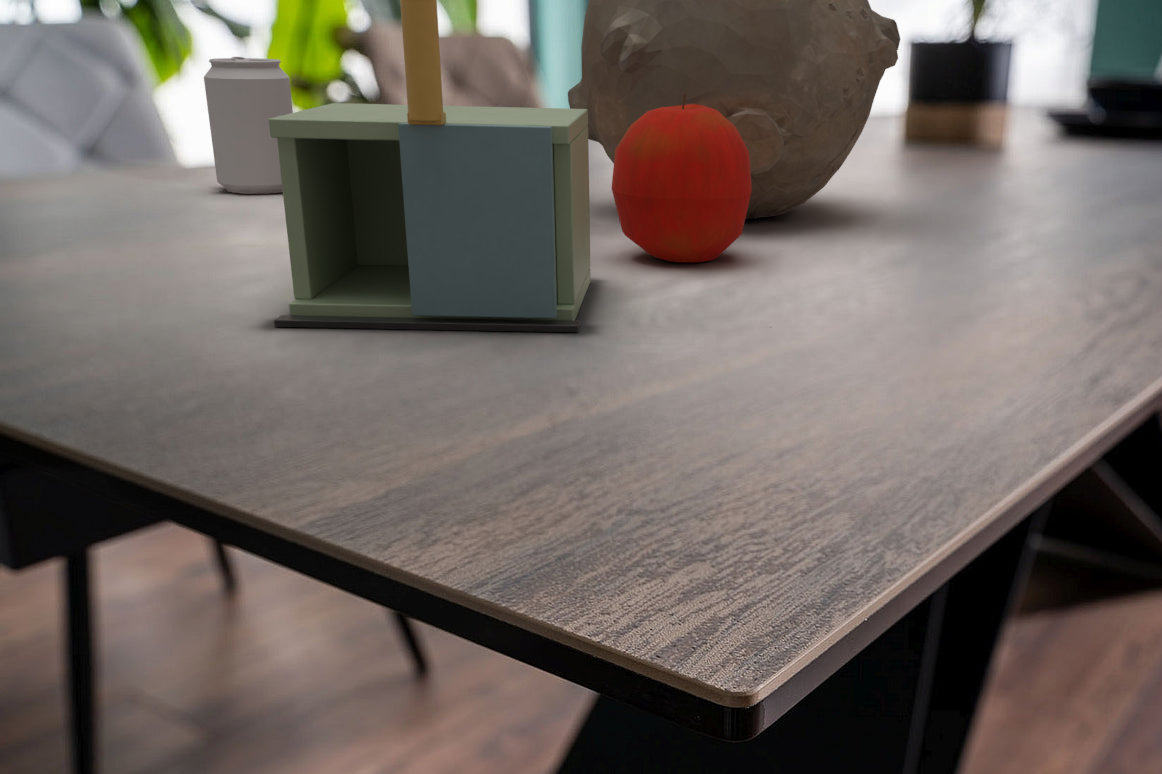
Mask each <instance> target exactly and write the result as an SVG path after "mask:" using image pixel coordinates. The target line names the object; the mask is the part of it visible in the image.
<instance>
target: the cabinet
mask: <svg viewBox="0 0 1162 774" xmlns="http://www.w3.org/2000/svg"><path fill="white" fill-rule="evenodd" d="M443 112H445V113H446V123H445V124H476V125H519V126H551V127H552V156H553V192H554V229H555V265H556V301H557V316H556V318H507V317H454V316H413V315H412V308H411V294H410V280H409V267H408V253H407V239H406V226H405V212H404V198H403V184H402V171H401V157H400V143H399V130H398V124H399V123H408V120H407V113H408V105H407V104H391V103H390V104H388V103H347V102H346V103H345V102H343V103H342V102H331V103H328V104H324V105H323V104H322V105H319V106H315V107H312V108H308V109H303V110H299V111H294V112H293V113H290V114H286V115H282V116H278V117H274V118H270V119H269V129H270V136H271V138H277V144H278V153H279V162H280V171H281V180H282V190H283V192H282V197H283V206H284V216H285V225H286V233H287V234H286V235H287V243H288V252H289V262H290V270H291V279H292V289H293V298H294V300H292V301H291V302H289V303H288V308H289V314H281V315H279V316H278V317H276V318H275V319H273V324H274V327H275V328H308V329H309V328H311V329H312V328H313V329H314V328H316V329H317V328H318V329H367V330H368V329H369V330H372V329H373V330H419V331H420V330H425V331H427V330H429V331H471V332H472V331H475V332H476V331H478V332H479V331H480V332H482V331H483V332H487V331H488V332H525V333H526V332H527V333H528V332H529V333H530V332H532V333H533V332H534V333H578V332H579V330H580V327H581V323H580V322H581V321H580V320H576V319H577V317H578V314H579V311H580V309H581V306H582V304H583V302H584V300H585V297H586V294H587V291H588V289H589V287H590V283H591V279H592V277H591V274H592V273H591V221H590V220H591V218H590V217H591V214H590V159H589V158H590V156H589V155H590V154H589V150H590V149H589V139H588V126H587V125H588V110H587V109H570V108H562V107H561V108H560V107H559V108H557V107H553V108H552V107H520V106H519V107H518V106H517V107H516V106H515V107H513V106H478V105H477V106H471V105H443Z"/></svg>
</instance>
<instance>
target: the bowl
mask: <svg viewBox="0 0 1162 774" xmlns="http://www.w3.org/2000/svg"><path fill="white" fill-rule="evenodd" d="M900 43H901V36H900V31H899V28H898V24H897V22H896V19H893V18H889V17H886V16H882V15H881V14H879V13H877V12H876V11H875V10H873V9H872V7H871V4H870V2H869V0H588V4H587V7H586V10H585V15H584V20H583V29H582V37H581V46H580V48H581V49H580V50H581V51H580V52H581V55H580V56H581V78H580V81H579V82H578V83H577V84H575V85H574V86H573V87H571V88H569V90H568V91H567V101H568V105H569V109H587V110H588V125H587V126H588V140H589V141H593V142H597V143H599V144H600V145H601V146H602V148H603V150H604V152H605V154H606V156H607V157H608V159H610V161H611V162H612V164H614V158H615V149H616V147H617V146H618V144H619V143H620V141H621V140H622V138H623V136H624V135H625V133H626V132H627V130H628V129H629V127H630V126H631V125H632V124H633V123H634V122H635V121H637V120H638V119H639V118H640V117H641V116H643V115H644V114H645V113H646V112H647V111H651V110H654V109H657V108H661V107H671V106H680V105H683V99H684V94H685V95H686V99H685V104H684V105H689V104H698V105H703V106H706V107H709V108H712V109H715V110H717V111H719V112H720V113H721V114H722V115H723V116H724V117H725V118H726V119H728V120H729V121H730V122H731V123H732V124H733V125H734V126H735V127H736V128H737V130H738V132H739V134H740V136H741V138H742V140H743V141H744V143H745V145H746V147H747V149H748V151H749V158H750V173H751V188H752V191H751V196H750V200H749V205H748V209H747V213H746V218H745V220H752V219H759V218H770V217H777V216H781V215H783V214H786V213H789V212H790V211H792V210H794V209H795V208H798V207H799V206H801V205H805V204H806V202H807V201H808V200H810V199H811V198H813V197H814V196H815V195H816V194H818V193H819V192H820V191H821V190H822V189H823V188H825V187H826V185H828V183H829V181H830V180H831V179H832V178H833V177H834V175H835V174H836V173H838V171H839V170H840V169H841V167H842V166H843V164H844V163H845V161H846V160H847V158H848V157H849V156H850V154H851V152H852V150H853V148H854V147H855V145H856V144H857V142H858V140H859V138H860V136H861V135H862V134H863V131H864V129H865V126H866V124H867V122H868V120H869V117H870V115H871V111H872V108H873V104H874V101H875V98H876V94H877V91H878V88H879V85H880V82H881V80H882V79H883V77H884V75H885V72H886V70H887V69H891V68H893V67H895V66H896V64H897V61H898V60H899V55H898V50H899V46H900Z"/></svg>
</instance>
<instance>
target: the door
mask: <svg viewBox="0 0 1162 774" xmlns="http://www.w3.org/2000/svg"><path fill="white" fill-rule="evenodd" d="M399 4H400V16H401V18H400V19H401V32H402V33H401V34H402V46H403V61H404V62H403V63H404V75H405V89H406V102H407V103H406V105H408V113H407V120H408V123H399V124H398V130H399V143H400V157H401V171H402V184H403V198H404V212H405V226H406V239H407V253H408V267H409V280H410V294H411V308H412V315H413V316H454V317H507V318H556V316H557V301H556V265H555V229H554V192H553V156H552V127H551V126H519V125H476V124H445V123H446V113H445V112H443V106H444V100H443V85H442V68H441V51H440V49H441V48H440V37H439V36H440V34H439V33H440V32H439V17H438V1H437V0H399Z"/></svg>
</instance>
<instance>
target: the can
mask: <svg viewBox="0 0 1162 774" xmlns="http://www.w3.org/2000/svg"><path fill="white" fill-rule="evenodd" d="M208 62H209V63H210V66H211V67H210V68H209V69H208V70H207V72H206V73H205V75H204V76H203V82H204V83H203V84H204V89H205V91H204V92H205V97H206V98H205V99H206V104H207V112H208V121H209V129H210V137H211V144H212V145H211V146H212V152H213V153H212V154H213V159H214V160H213V161H214V168H215V175H216V182H217V183H218V184H219V185H221V187H223V188H224V189H226V191H227V192H229V193H233V194H240V195H241V194H243V195H265V194H279V193H283V190H282V180H281V171H280V162H279V153H278V144H277V138H271V136H270V129H269V119H270V118H274V117H278V116H282V115H286V114H290V113H294V112H293V111H294V110H293V109H294V108H293V101H292V91H291V80H290V76H289V75H288V74H287V73H286V72H285V71H284V70H283V69H282V67H280V64H281V60H280V59H277V58H258V57H257V58H254V57H253V58H251V57H249V58H248V57H244V56H232V57H221V58H220V57H219V58H209V60H208Z"/></svg>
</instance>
